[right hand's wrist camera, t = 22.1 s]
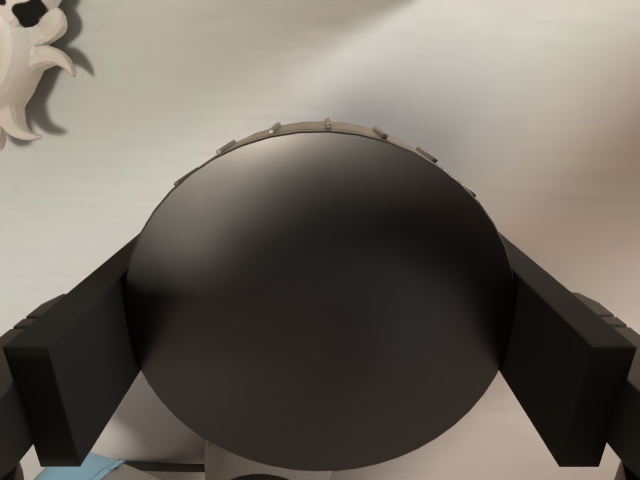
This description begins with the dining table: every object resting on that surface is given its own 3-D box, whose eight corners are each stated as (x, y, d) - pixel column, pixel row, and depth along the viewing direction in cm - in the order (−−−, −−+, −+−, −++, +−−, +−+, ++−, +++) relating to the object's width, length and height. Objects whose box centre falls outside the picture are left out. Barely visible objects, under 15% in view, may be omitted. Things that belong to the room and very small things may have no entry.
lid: (87, 250, 12) (35, 288, 9) (367, 37, 10) (380, 24, 8) (287, 454, 14) (281, 519, 12) (537, 319, 12) (581, 368, 10)
